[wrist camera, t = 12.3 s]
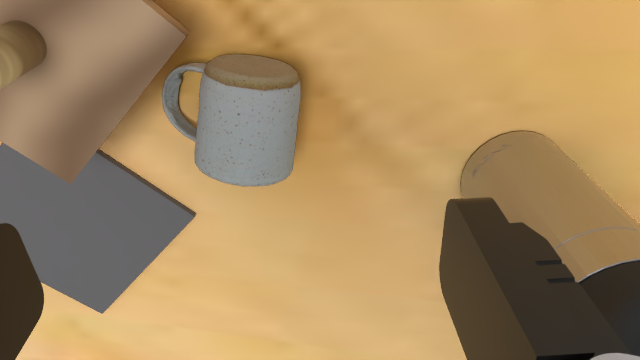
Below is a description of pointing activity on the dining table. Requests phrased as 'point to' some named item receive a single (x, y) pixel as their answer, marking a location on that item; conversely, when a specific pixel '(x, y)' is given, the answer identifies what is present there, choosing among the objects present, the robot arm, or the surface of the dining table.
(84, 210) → the mat
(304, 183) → the dining table surface
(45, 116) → the lid
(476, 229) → the robot arm
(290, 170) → the ceramic mug
